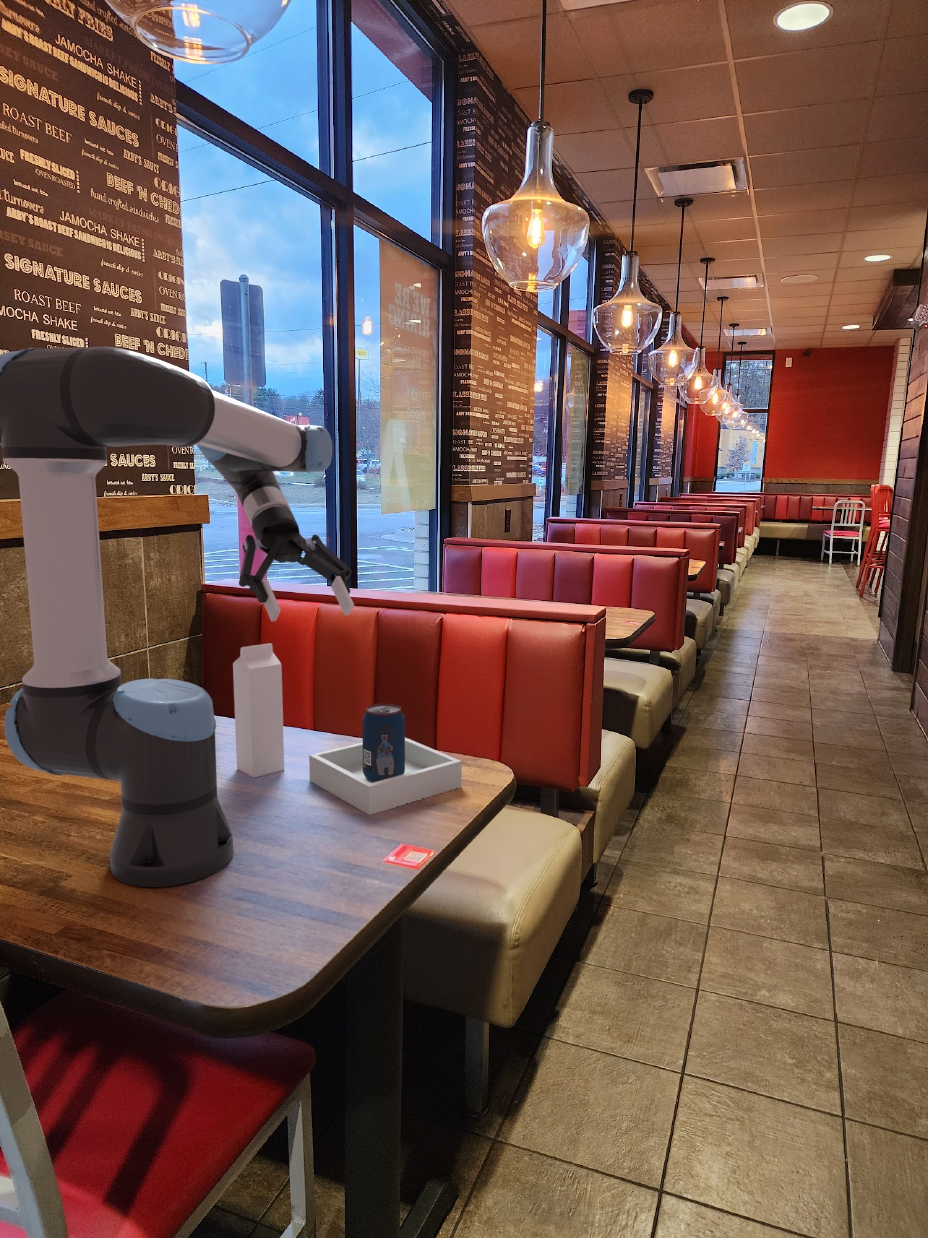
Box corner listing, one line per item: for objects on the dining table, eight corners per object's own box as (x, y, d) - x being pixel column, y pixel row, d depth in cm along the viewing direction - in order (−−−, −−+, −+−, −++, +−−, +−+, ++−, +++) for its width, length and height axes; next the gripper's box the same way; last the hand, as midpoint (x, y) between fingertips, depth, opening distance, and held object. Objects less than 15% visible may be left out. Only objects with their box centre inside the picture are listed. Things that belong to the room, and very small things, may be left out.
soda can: (388, 768, 136) (387, 700, 134) (413, 779, 131) (413, 709, 129) (354, 777, 131) (353, 707, 129) (379, 789, 126) (378, 717, 124)
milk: (284, 770, 137) (282, 645, 134) (252, 778, 133) (249, 650, 130) (267, 761, 142) (264, 640, 138) (235, 768, 138) (231, 644, 134)
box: (369, 815, 119) (369, 786, 118) (309, 780, 132) (309, 755, 132) (461, 787, 130) (461, 761, 130) (397, 758, 144) (397, 734, 143)
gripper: (326, 533, 150) (369, 621, 141) (196, 534, 135) (235, 633, 125) (340, 505, 146) (386, 594, 136) (208, 502, 130) (249, 603, 121)
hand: (314, 613), depth 131 cm, fingers open, 13 cm apart
